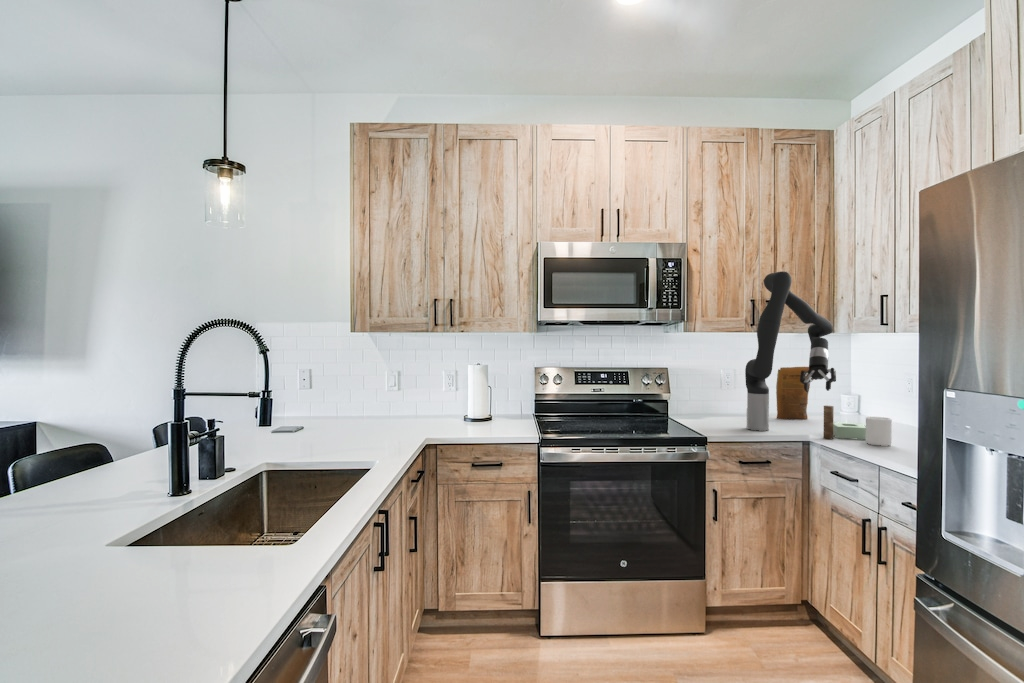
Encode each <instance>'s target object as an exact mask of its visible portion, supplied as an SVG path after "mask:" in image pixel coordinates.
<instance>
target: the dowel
mask: <svg viewBox="0 0 1024 683" xmlns="http://www.w3.org/2000/svg"><path fill="white" fill-rule="evenodd" d="M833 422H834V406H833V405H823V439H824V438H825V440H832V439H831V438H833V439H834V435H833Z"/></svg>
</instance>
